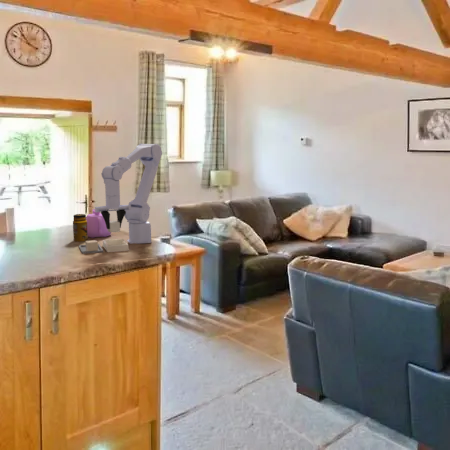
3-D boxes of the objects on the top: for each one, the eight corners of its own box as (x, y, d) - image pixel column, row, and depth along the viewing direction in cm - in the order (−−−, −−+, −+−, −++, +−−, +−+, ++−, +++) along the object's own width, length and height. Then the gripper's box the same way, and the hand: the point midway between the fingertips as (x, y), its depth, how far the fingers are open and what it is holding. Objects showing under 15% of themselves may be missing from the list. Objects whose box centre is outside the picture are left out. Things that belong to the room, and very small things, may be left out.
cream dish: (123, 245, 220) (122, 238, 219) (128, 251, 208) (128, 244, 208) (102, 247, 217) (102, 240, 216) (107, 253, 205) (107, 246, 205)
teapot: (115, 238, 235) (115, 212, 233) (85, 240, 230) (84, 214, 228) (107, 231, 253) (107, 207, 251) (80, 232, 248) (78, 208, 246)
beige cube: (95, 249, 209) (95, 240, 208) (98, 251, 206) (97, 241, 205) (85, 250, 207) (85, 240, 207) (87, 252, 204) (87, 242, 203)
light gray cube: (117, 230, 216) (116, 220, 215) (120, 231, 213) (119, 222, 212) (107, 230, 214) (107, 221, 213) (110, 232, 211) (110, 222, 210)
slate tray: (99, 246, 217) (98, 243, 217) (103, 253, 205) (103, 250, 205) (78, 248, 214) (78, 245, 214) (82, 254, 202) (82, 251, 202)
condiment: (90, 242, 227) (89, 215, 225) (71, 244, 222) (70, 216, 220) (85, 239, 233) (84, 213, 231) (66, 241, 228) (65, 214, 226)
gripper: (126, 193, 218) (127, 225, 220) (92, 195, 211) (93, 228, 213) (132, 195, 212) (133, 228, 214) (97, 197, 205) (98, 231, 207)
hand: (113, 228), depth 213 cm, fingers closed on light gray cube, 4 cm apart
